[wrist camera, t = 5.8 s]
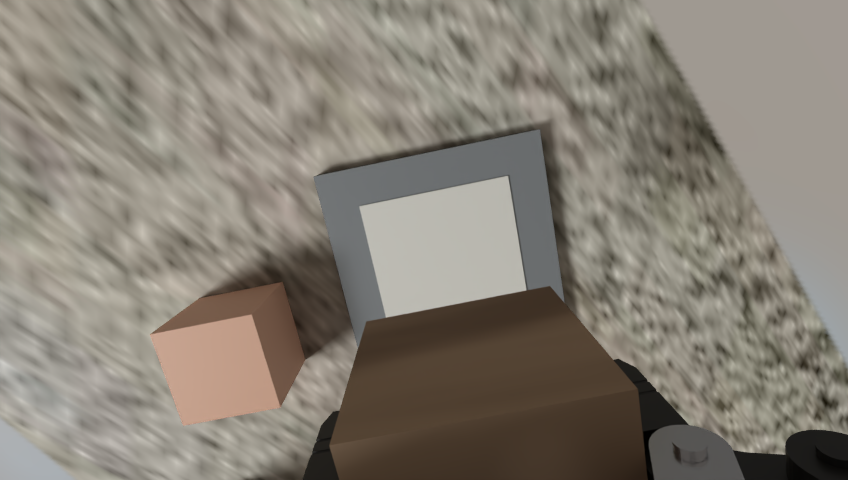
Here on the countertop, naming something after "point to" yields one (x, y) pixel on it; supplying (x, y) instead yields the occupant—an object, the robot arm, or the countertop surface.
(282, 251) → the countertop surface
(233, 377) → the terracotta block
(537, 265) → the plate
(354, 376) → the walnut block
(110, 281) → the countertop surface
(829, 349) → the countertop surface
